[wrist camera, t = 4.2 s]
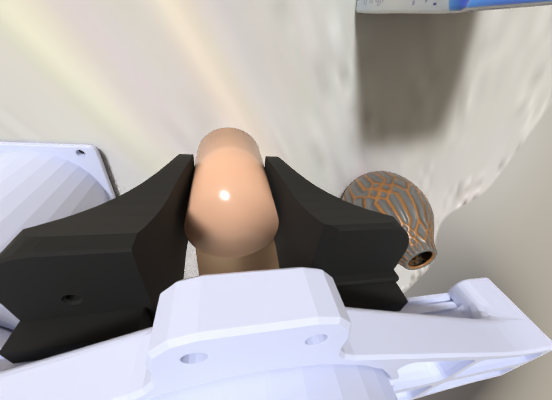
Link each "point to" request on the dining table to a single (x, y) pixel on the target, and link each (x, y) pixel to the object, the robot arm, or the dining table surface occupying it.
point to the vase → (398, 211)
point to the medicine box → (441, 5)
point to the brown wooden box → (239, 261)
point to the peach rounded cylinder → (230, 197)
